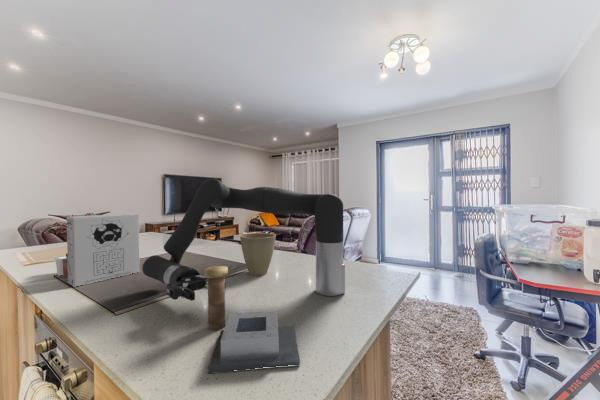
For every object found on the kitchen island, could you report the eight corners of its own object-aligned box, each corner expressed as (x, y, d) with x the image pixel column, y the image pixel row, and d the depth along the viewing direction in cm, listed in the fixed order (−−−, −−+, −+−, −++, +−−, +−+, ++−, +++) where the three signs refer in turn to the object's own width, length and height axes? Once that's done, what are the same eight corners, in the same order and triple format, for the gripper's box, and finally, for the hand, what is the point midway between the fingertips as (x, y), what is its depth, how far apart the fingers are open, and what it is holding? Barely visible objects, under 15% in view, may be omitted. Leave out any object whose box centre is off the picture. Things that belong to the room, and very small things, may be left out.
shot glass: (58, 277, 104) (58, 259, 104) (52, 274, 107) (52, 257, 107) (80, 272, 110) (79, 256, 109) (73, 270, 113) (73, 254, 113)
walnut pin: (229, 320, 68) (229, 265, 67) (226, 331, 62) (225, 271, 62) (207, 321, 67) (207, 266, 67) (202, 333, 62) (201, 272, 61)
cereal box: (132, 269, 114) (131, 213, 113) (139, 272, 110) (139, 213, 109) (67, 283, 96) (66, 216, 96) (74, 287, 92) (72, 217, 91)
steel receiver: (293, 330, 62) (293, 309, 62) (299, 366, 50) (299, 339, 49) (221, 335, 60) (221, 313, 60) (208, 373, 48) (208, 345, 47)
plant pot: (275, 278, 102) (275, 237, 102) (237, 279, 101) (237, 238, 101) (276, 267, 117) (276, 232, 117) (243, 268, 116) (242, 232, 116)
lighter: (67, 278, 102) (66, 253, 102) (60, 278, 102) (59, 253, 102) (87, 272, 110) (87, 249, 110) (81, 272, 110) (80, 248, 110)
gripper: (155, 271, 72) (181, 284, 61) (203, 261, 83) (233, 270, 72) (156, 298, 72) (182, 315, 62) (204, 284, 83) (233, 297, 72)
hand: (209, 291), depth 67 cm, fingers open, 8 cm apart
